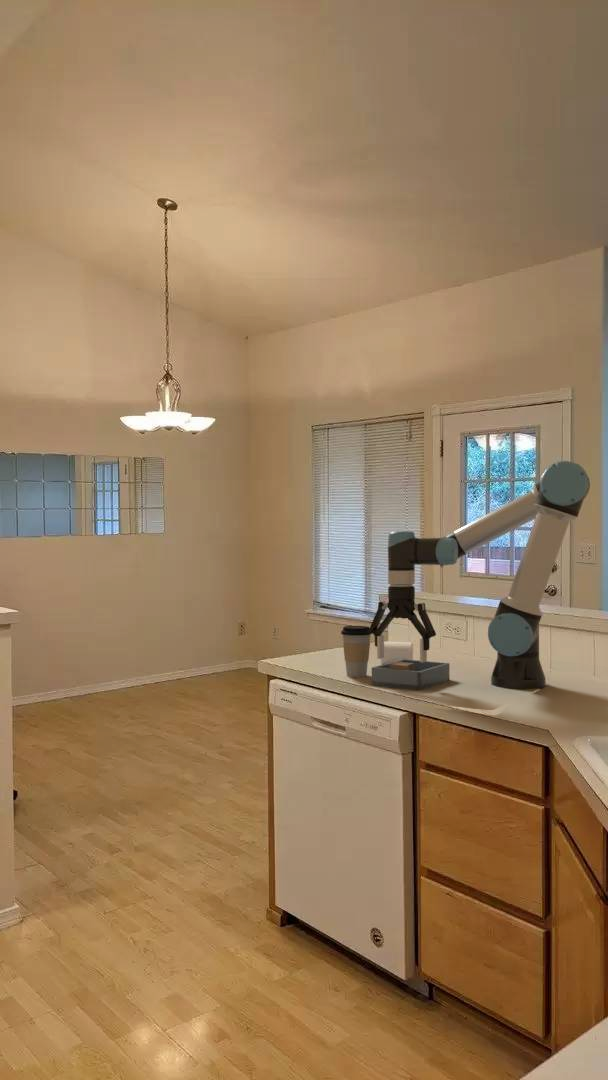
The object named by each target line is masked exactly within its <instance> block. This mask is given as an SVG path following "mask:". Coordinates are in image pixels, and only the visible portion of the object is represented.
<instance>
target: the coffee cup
mask: <svg viewBox="0 0 608 1080" xmlns="http://www.w3.org/2000/svg"><path fill="white" fill-rule="evenodd" d="M369 628H370V626H368V625H367V626H366V625H345V626H343V628H342V630H341V631H340V635H342V641H343V642H342V645H343V655H344V662H345V671H346V676H347V677H348V676H351V677H350V678H355V677H360V678H364V677H363V676H365V677H367V676H368V675H367V673H368V665H369V664H368V663H369V659H370V649H371V648H370V647H371V641H370V640H371V635H373V634H372V633H369Z"/></svg>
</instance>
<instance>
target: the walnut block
mask: <svg viewBox="0 0 608 1080" xmlns="http://www.w3.org/2000/svg"><path fill="white" fill-rule="evenodd" d="M391 669H397V670H407V671H414V663H404V662H397V663H393V664H391Z"/></svg>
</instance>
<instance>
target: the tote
mask: <svg viewBox="0 0 608 1080" xmlns="http://www.w3.org/2000/svg"><path fill="white" fill-rule="evenodd" d="M397 662H404V663H414V671H407V670H397V669H391V664H393V663H397ZM449 680H450V663H448V662H439V661H430V660H429V661H428V660H427V661H426V662H423V663H421V662H420V660H416V659H415V660H414V659H413V660H406V659H403V660H399V661H395V662H391V663H387V664H380V665H375V666H373V667H371V686H377V687H387V688H395V689H396V688H397V689H406V690H414V691H422V690H424V689H427V688H431V687H433V686H436V685H440V684H442V683H445V682H447V681H449Z"/></svg>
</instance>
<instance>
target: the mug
mask: <svg viewBox="0 0 608 1080" xmlns="http://www.w3.org/2000/svg"><path fill="white" fill-rule="evenodd" d="M403 659H406V660H414V643H413V642H411V641H407V642H405V641H384V658H381V659H380V665H383V664H387V663H391V662H395V661H399V660H403Z"/></svg>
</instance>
